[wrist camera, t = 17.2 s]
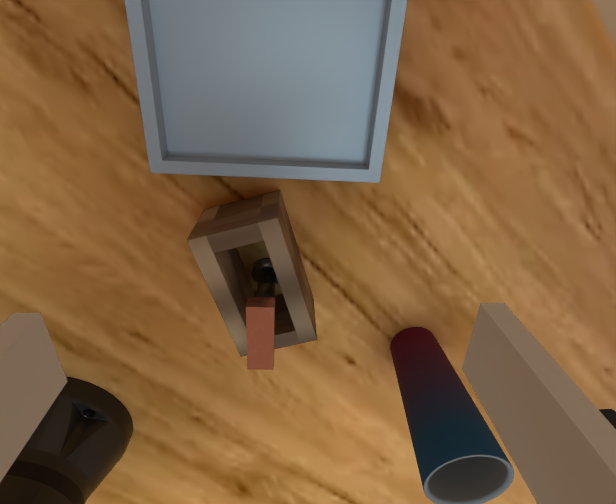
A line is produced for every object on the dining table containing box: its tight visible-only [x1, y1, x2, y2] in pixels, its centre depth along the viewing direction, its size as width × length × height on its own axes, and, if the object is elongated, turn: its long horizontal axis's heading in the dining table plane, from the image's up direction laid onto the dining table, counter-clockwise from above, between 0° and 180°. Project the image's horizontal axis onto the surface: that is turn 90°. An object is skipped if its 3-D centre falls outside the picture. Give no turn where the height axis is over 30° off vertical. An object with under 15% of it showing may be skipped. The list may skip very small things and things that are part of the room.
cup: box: [390, 327, 514, 504], centre depth 35 cm, size 7×7×15 cm
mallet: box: [246, 258, 279, 370], centre depth 32 cm, size 3×6×10 cm, turn 177°
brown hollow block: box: [187, 190, 317, 356], centre depth 33 cm, size 12×7×6 cm, turn 14°
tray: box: [125, 0, 407, 183], centre depth 26 cm, size 18×18×2 cm
